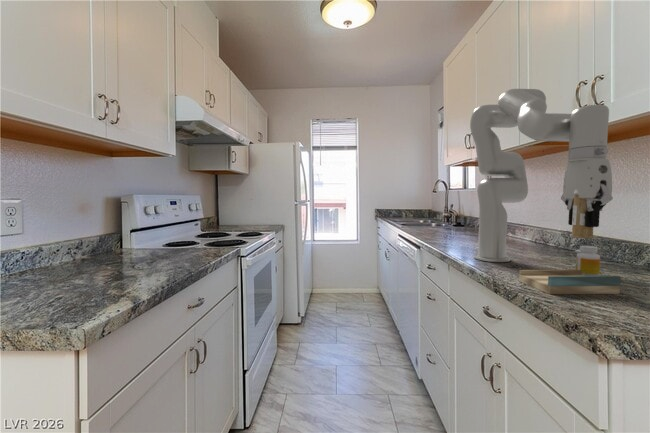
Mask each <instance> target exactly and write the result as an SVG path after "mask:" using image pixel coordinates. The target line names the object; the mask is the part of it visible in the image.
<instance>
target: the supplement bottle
mask: <svg viewBox="0 0 650 433" xmlns="http://www.w3.org/2000/svg"><path fill="white" fill-rule="evenodd" d="M598 250H599V249H598V247H597V246H593V245H580V246H579V251H580V252H578V253H577V254H576V259H575V270H582V275H586V276H600V270H601V268H600V267H601V255H599V254H597V253H598V252H599V251H598Z"/></svg>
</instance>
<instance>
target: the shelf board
mask: <svg viewBox="0 0 650 433" xmlns="http://www.w3.org/2000/svg"><path fill="white" fill-rule="evenodd" d="M518 274H519V275H518V282H521V283H523V284H526V285H527V286H530V287H532V288H534V289H537V290H540V291H542V292H544V293H546V294H549V295H596V294H597V295H602V294H604V295H607V294H609V295H610V294H611V295H613V294H614V295H616V294H617V295H620V294H621V281H622V279H621V278H622V277H621V276H620V275H599V276H586V275H582V270H576V269H519V271H518Z"/></svg>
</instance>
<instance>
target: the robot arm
mask: <svg viewBox="0 0 650 433" xmlns="http://www.w3.org/2000/svg"><path fill="white" fill-rule="evenodd" d="M547 106H548V105H547V97H546V94H545V93H544V92H543V91H542V90H540V89H538V88H537V89H536V88H511V89H508V90H505V91H504V92H503V93H501V94H500V96H499V97H498V100H497V104H484V105H480V106H478V107H476V108H475V109H474V110H473V112H472V114H471V117H470V121H469V123H470V124H469V125H470V127H469V128H470V132H471V136H472V139H473V142H474V145H475V150H476V160H477V166H478V171H479V172H480V174H481V175H483V176H485V177H489V178H485V179H483V180H481V181H480V182H479V183H478V185H477V189H476V190H477V191H476V192H477V199H478V205H479V206H478V207H479V208H478V209H479V210H478V211H479V214H478V215H479V216H478V242H477V244H478V246H476V250H477V253H474V254H473V258H474V259H475V260H478V261H483V262H488V263H491V262H492V263H508V262H510V261H511V257H510V256H508V255H507V232H508V231H507V230H508V213H507V210H506V207H505V206H504V205H503V204H505V203H506V204H507V203H508V204H510V203H511V204H513V203H514V204H515V203H517V204H518V203H521V202H524V201H525V199H526V198H527V196H528V193H529V184H528V180H527V172H526V166H525V161H524V158H523V157H522V156H521V154H520V153H518V152H514V151H503V150H502V148H501V140H500V139H499V137H498V135H497V134H496V132H495V131H493V130H492V128H496V129H497V128H500V129H501V128H503V129H505V128H506V129H507V128H508V129H509V128H515V127H517V128H518V130H519V132H520V133H521V134H523V135H524V136H526V137H527V138H529V139H531V140H534V141H538V142H563V143H564V142H568V157H567V158H568V160H567V163H566V168H565V172H564V177H563V185H562V186H563V187H562V188H563V189H562V195H561V197H560V200H562V202H563V203H564V205H566V207H567V208H566V209H567V210H568V223H567V224H568V225H570V226H572V217H573V204H574V197H575V194H574V191H575V190H576V189H577V190H578V192H579V194H577V195H579V198H582V199H586V201H587V208H588V211H586V212H585V227H593V228H598V227H600V215H601V214H600V212H602V211H603V208H605V207H606V205H607V204H608V203H610V202H611V201H613V199H614V198H613V195H612V193H613V174H612V167H611V166H612V165H611V162H610V159H609V158H607V153H609V148H608V136H609V135H608V133H609V119H610V118H609V117H610V109H609V107H608V106H607V105H605V104H591V105H584V106H581V107H578V108H576V109H574V110H573V111H571V113H559V112H558V113H556V112H555V113H553V112H552V113H548V112H546V111H547V109H548V108H547ZM593 202H595V203H594V204H593Z"/></svg>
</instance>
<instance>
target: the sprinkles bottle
mask: <svg viewBox="0 0 650 433" xmlns="http://www.w3.org/2000/svg"><path fill="white" fill-rule="evenodd" d="M574 194H575V197H574V204H573V217H572V225H571V226H572V229H571V237H572V238H577V239H593V238H594V227H585V212H586V211H588V208H587V201H586V199H582V198H579V195H577V194H579V192H578V190H577V189H576V190H575V191H574ZM594 203H595V202H593V204H594Z"/></svg>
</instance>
